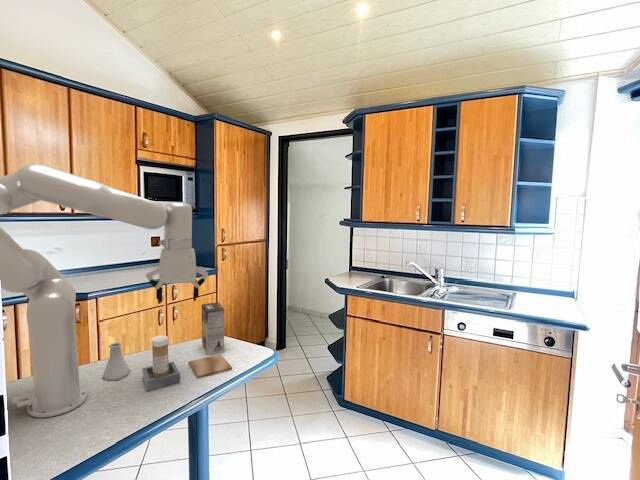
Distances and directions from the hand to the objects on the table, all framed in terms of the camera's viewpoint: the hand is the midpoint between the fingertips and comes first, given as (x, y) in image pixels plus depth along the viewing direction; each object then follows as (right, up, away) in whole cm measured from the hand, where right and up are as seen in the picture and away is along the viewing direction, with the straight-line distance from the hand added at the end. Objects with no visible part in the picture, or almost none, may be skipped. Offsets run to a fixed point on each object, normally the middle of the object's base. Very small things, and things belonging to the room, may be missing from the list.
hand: (177, 300), depth 107 cm
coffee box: (+4, -22, +22) cm, 31 cm away
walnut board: (+7, -23, +9) cm, 26 cm away
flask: (-20, -24, +2) cm, 31 cm away
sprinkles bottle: (-5, -24, 0) cm, 25 cm away
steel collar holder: (-5, -24, 0) cm, 25 cm away
